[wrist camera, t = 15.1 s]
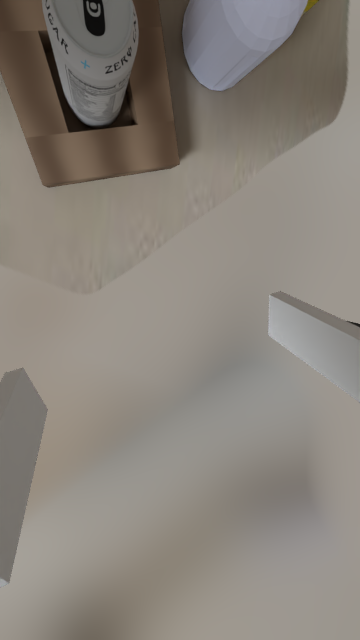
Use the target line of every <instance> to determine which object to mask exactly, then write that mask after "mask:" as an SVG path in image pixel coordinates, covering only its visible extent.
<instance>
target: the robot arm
mask: <svg viewBox="0 0 360 640" xmlns="http://www.w3.org/2000/svg"><path fill="white" fill-rule="evenodd" d="M268 335H269V336H270V337H272V338H273V339H274V340H276V341H277V342H279V343H280V344H281V345H282V346H284V347H285V348H286V349H288V350H289V351H291V352H292V353H293V354H295V355H296V356H297V357H299V358H300V359H301V360H303V361H304V362H305V363H307V364H308V365H310V366H311V367H312V368H314V369H315V370H316V371H318V372H319V373H320V374H322V375H323V376H325V377H326V378H327V379H329V380H330V381H331V382H332V383H334V384H335V385H337V386H338V387H339V388H341V389H342V390H343V391H345V392H346V393H347V394H349V395H350V396H351V397H353V398H354V399H355V400H357V401H358V402H359V403H360V324H358V323H353V322H349V321H345V320H343V319H340V318H338V317H336V316H334V315H332V314H329V313H327V312H325V311H323V310H321V309H318V308H316V307H314V306H312V305H310V304H308V303H305V302H303V301H301V300H299V299H296V298H294V297H292V296H290V295H288V294H286V293H283V292H281V291H280V292H276V293H273V294H270V295H269V328H268ZM47 411H48V409H47V407H46V405H45V404H44V402H43V400H42V399H41V397H40V395H39V394H38V392H37V390H36V389H35V387H34V385H33V383H32V382H31V380H30V378H29V377H28V375H27V373H26V372H25V370H24V368H20V369H17V370H14V371H10V372H7V373H5V374H4V376H3V378H2V380H1V382H0V588H1V587H3V586H5V585H7V584H9V581H10V577H11V572H12V567H13V563H14V559H15V554H16V550H17V545H18V541H19V536H20V532H21V527H22V522H23V519H24V514H25V509H26V505H27V501H28V496H29V492H30V487H31V483H32V478H33V473H34V469H35V465H36V460H37V456H38V451H39V447H40V442H41V438H42V433H43V429H44V424H45V420H46V415H47Z"/></svg>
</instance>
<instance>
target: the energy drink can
mask: <svg viewBox="0 0 360 640" xmlns="http://www.w3.org/2000/svg"><path fill="white" fill-rule="evenodd" d="M42 8H43V13H44V18H45V22H46V26H47V30H48V34H49V37H50V41H51V45H52V49H53V53H54V57H55V61H56V64H57V68H58V72H59V76H60V80H61V84H62V87H63V91H64V95H65V98H66V101H67V104H68V106H69V107H70V109H71V111H72V112H73V113H74V115H75V116H76V117H77V118H78V119H79V120H80V121H81V122H83V123H84V124H86V125H88V126H90V127H93V128H105V127H108V126H109V125H111V124H112V123H113V122H114V121H115V120H116V119H117V117H118V115H119V112H120V109H121V106H122V102H123V98H124V95H125V91H126V88H127V84H128V81H129V77H130V74H131V70H132V67H133V63H134V60H135V56H136V52H137V47H138V36H139V30H138V20H137V15H136V11H135V7H134V4H133V1H132V0H42Z"/></svg>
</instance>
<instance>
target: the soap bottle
mask: <svg viewBox="0 0 360 640" xmlns="http://www.w3.org/2000/svg"><path fill="white" fill-rule="evenodd" d="M307 2H308V0H190V2H189V4H188V6H187V9H186V11H185V14H184V20H183V29H182V39H183V47H184V55H185V57H186V60H187V63H188V65H189V68H190V71H191V72H192V73H193V75H194V76H195V77H196V79H197V80H198V81H199V83H201V84H202V85H204V86H205V87H207V88H208V89H210V90H218V91H223V90H226V89H228V88H231V87H233V86H234V85H235V84H236V83H237V82H239V81H240V80H241V79H242V78H243V77H245V76H246V75H247V74H248V73H249V72H250V71H252V70H253V69H254V68H255V67H256V66H257V65H259V64H260V63H261V62H262V61H263V60H264V59H266V58H267V57H268V56H269V55H270V54H271V53H273V52H274V51H275V50H276V49H277V48H279V47H280V46H281V45H282V44H283V43H284V42H285V41H286V39H287V38H288V37H289V36H290V35H291V34H292V33H293V31H294V29H295V27H296V25H297V23H298V21H299V19H300V17H301V15H302V13H303V11H304V9H305V7H306V5H307Z"/></svg>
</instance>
